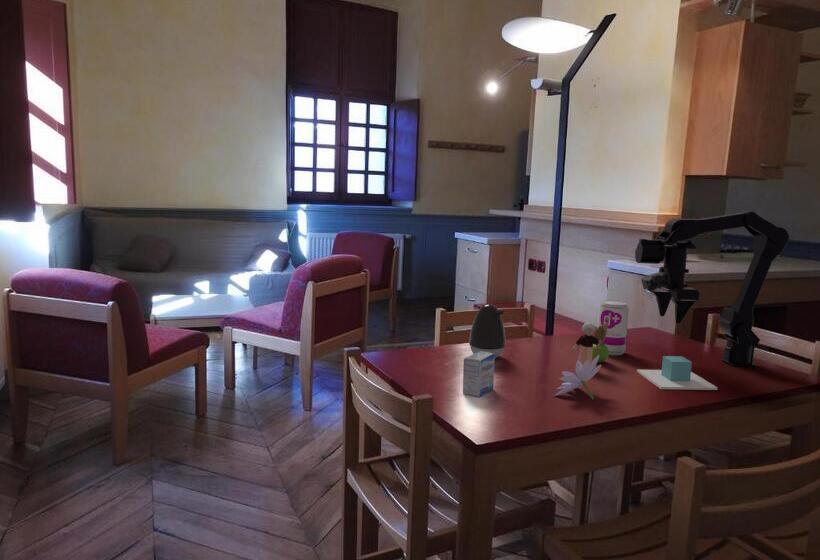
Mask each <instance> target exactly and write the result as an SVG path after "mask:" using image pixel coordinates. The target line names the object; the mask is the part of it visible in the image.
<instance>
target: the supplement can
mask: <svg viewBox="0 0 820 560" xmlns="http://www.w3.org/2000/svg"><path fill="white" fill-rule="evenodd" d="M629 311H630V308H629V307H628V303H627V302H626V301H625V302H624V301H619V300H609V299H608V300H603V301H601V303H600V305H599V306H598V314H597V315H598V316H597V327H598V326H603V324H604V323H605V318H606V322H608V327H607V334H606V337H605V340H604V341H603V342H602V344H604V345H606V346H607V348H608V350H609V356H615V357H616V356H622V355H623V354H625V352H626V346H627V345H626V344H627V337H628V335H627V334H628V323H629ZM607 318H608V319H609V320H607Z"/></svg>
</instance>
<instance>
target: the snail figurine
mask: <svg viewBox="0 0 820 560" xmlns="http://www.w3.org/2000/svg"><path fill="white" fill-rule="evenodd" d="M607 320H609V319H608V318H607ZM607 327H608V322H606V318H605V323H604V324H603V326H598V325H597V327H595V331H594V332H593V336H594V337H596V338H597V339H598V341H599V344H600V346H601V348H600V349H597V346H596V345H595V344H593V353H592V361H593V360H594V359H595V358H596V357H597V356H598V355H600V356H599V359H598V362H597V363H604V362H605V361H606V360H607V359H608V358H609V356H610V355H609V350H608V348H607V346H606V345H604V344H602V342H603V341H604V340H605V337H606V334H607Z"/></svg>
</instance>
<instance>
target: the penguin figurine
mask: <svg viewBox="0 0 820 560" xmlns="http://www.w3.org/2000/svg"><path fill="white" fill-rule="evenodd" d="M504 313H505V310H504V309H498V307H497V306H496V305H493V304H492V303H486V304H483V305H481V307H480V308H479V309H478V310H477V313H476V315H475V316H474V319H473V321H472V325H471V329H470V334H469V339H468V345H469V347H470V350H471V352H472V354H474V353H476V352H478V351H482V352H489V353H493V354H495V359H497V358H499V357H500V356H501V355H502V354H503V352H504V350H505V347H506V346H507V344H506V343H507V341H506V340H507V339H506V331H505V325H504V322H503V318H502V315H503V314H504Z"/></svg>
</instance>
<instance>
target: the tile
mask: <svg viewBox="0 0 820 560" xmlns="http://www.w3.org/2000/svg"><path fill="white" fill-rule="evenodd" d="M661 372H662V369H636V373H638V374H639V375H640V376H642V377H643V378H644V379H646V380H648V381H649V382H650V383H651V384H653V385H655V386H656V387H657V388H659V389H660V390H683V391H684V390H687V391H689V390H690V391H693V390H696V391H700V390H701V391H704V390H705V391H717V390H719V389H718V386H716V385H714V384H712V383H711V382H709V381H707V380H706V379H704V378H703V377H701V376H700V375H697V374H696V373H694V372H692V371H691V376H690V381H669V380H668V379H666V378H665V377H664V376H662V375H661Z"/></svg>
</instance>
